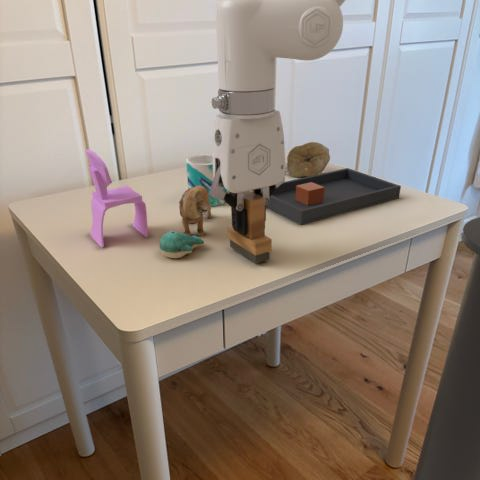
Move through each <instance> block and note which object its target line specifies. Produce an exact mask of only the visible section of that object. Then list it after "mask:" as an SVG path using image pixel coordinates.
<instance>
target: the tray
mask: <svg viewBox="0 0 480 480" xmlns="http://www.w3.org/2000/svg"><path fill="white" fill-rule="evenodd" d="M310 182H313V183H315V184H318V185H320V186H323V187H325V188H324V200H323V202H321V203H317V204H313V205H309V206H307V205H305V204H303V203H301V202H298V201H296V200H295V197H296V186H297V185H301V184H306V183H310ZM401 188H402V186H401V185H399V184H396V183H394V182H390V181H388V180H385V179H382V178H378V177H376V176H372V175H370V174H367V173H364V172H361V171H357V170H355V169H352V168H349V167H346V168H341V169H337V170H332V171H328V172H323V173H322V172H321V173H319V174H317V175H313V176H309V177H308V176H303V177H299V178H295V179H291V180H287V181H286V180H285V181H284V182H283V183H282V184H281V185H280V186H279V187H277V188H275V191H274V192H273V194H272V195H271V196H270V201H269V203H268V204H267V205H266V209H269V210H270V211H272V212H274V213H276V214H278V215H280V216H282V217H284V218H286V219H288V220H290V221H292V222H294V223H297V224H298V225H300V226H303V225H305V224H306V225H307V224H309V223H314V222H317V221H322V220H325V219H328V218H331V217H336V216H340V215H343V214H347V213H350V212H353V211H358V210H361V209H365V208H368V207H372V206H375V205H379V204H384V203H387V202H390V201H394V200H398V199H400V194H401Z"/></svg>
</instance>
